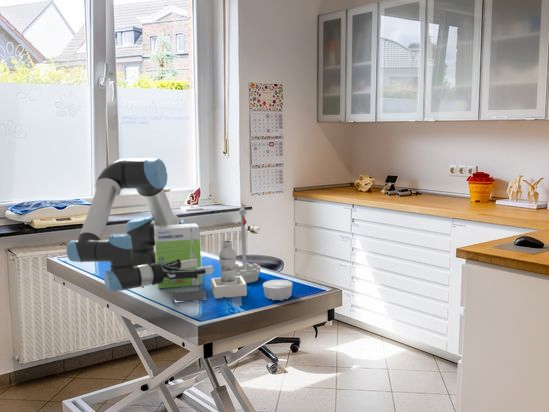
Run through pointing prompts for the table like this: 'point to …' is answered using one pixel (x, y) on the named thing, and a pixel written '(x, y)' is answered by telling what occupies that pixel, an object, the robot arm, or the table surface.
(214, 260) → the table surface
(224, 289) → the white square tray
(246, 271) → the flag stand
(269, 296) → the ramekin
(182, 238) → the green white carton
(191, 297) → the rubber mat
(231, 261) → the plastic bottle
